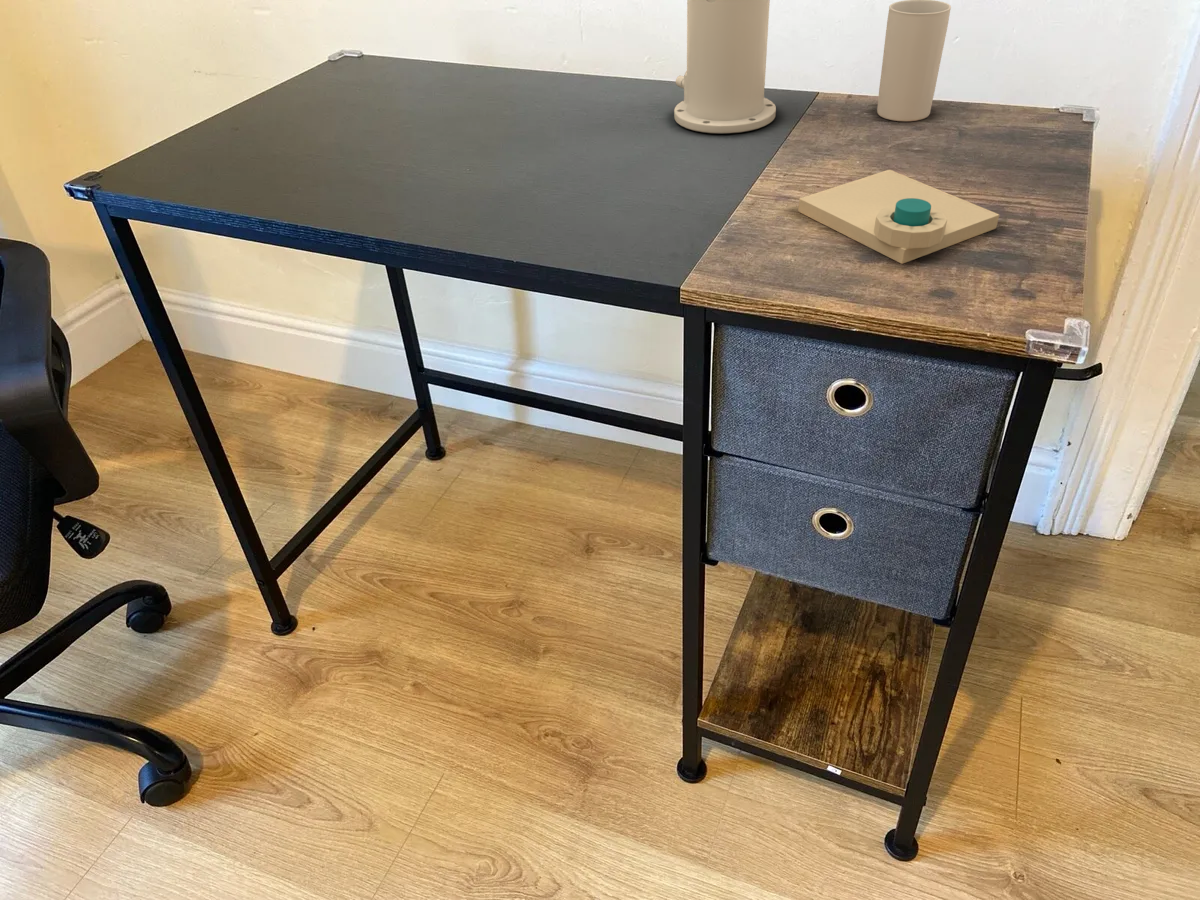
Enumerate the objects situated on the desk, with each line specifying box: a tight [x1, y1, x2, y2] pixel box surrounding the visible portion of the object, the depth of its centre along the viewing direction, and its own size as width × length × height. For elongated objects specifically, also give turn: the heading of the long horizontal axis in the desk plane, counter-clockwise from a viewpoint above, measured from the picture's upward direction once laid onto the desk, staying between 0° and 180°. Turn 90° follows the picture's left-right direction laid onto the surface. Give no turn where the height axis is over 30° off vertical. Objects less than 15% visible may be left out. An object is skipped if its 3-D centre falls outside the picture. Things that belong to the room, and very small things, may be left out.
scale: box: [797, 169, 1000, 265], centre depth 83 cm, size 15×12×3 cm
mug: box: [876, 0, 952, 122], centre depth 105 cm, size 10×7×12 cm, turn 149°
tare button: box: [893, 198, 931, 227], centre depth 78 cm, size 3×3×2 cm
